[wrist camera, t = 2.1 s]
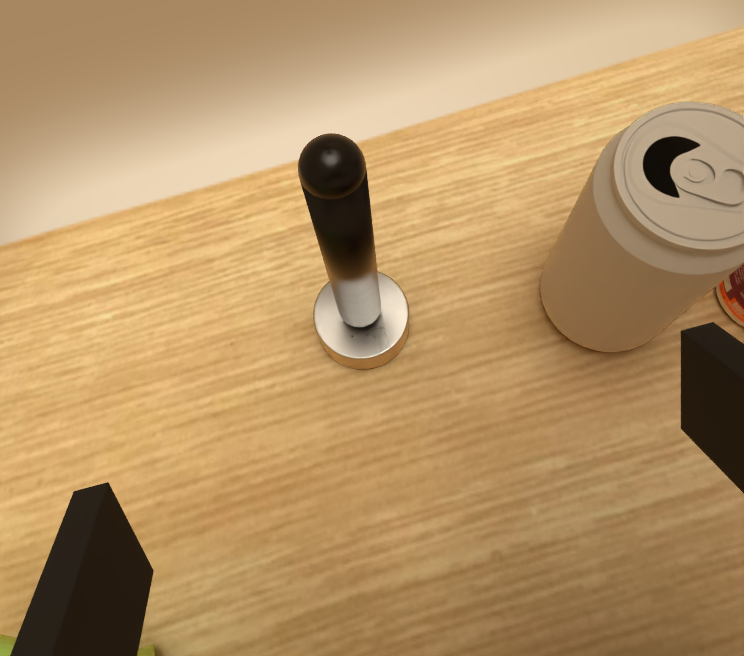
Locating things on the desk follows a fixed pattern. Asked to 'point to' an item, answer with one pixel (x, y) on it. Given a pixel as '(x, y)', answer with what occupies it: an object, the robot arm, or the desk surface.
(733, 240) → the beverage can
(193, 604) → the desk surface
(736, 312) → the pill bottle
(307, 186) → the rod on base
